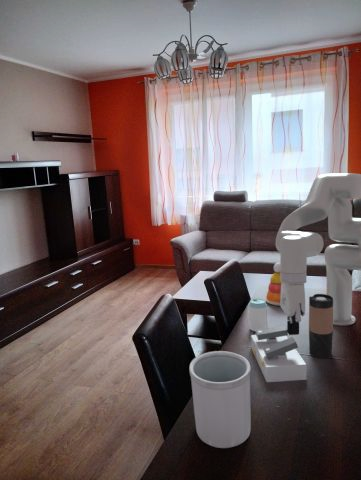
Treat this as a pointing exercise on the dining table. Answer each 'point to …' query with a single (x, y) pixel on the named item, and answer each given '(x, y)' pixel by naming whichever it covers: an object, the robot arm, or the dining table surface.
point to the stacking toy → (274, 287)
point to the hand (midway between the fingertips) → (293, 333)
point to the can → (257, 314)
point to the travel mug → (320, 325)
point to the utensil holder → (221, 398)
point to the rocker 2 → (280, 348)
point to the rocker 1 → (271, 332)
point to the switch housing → (278, 361)
